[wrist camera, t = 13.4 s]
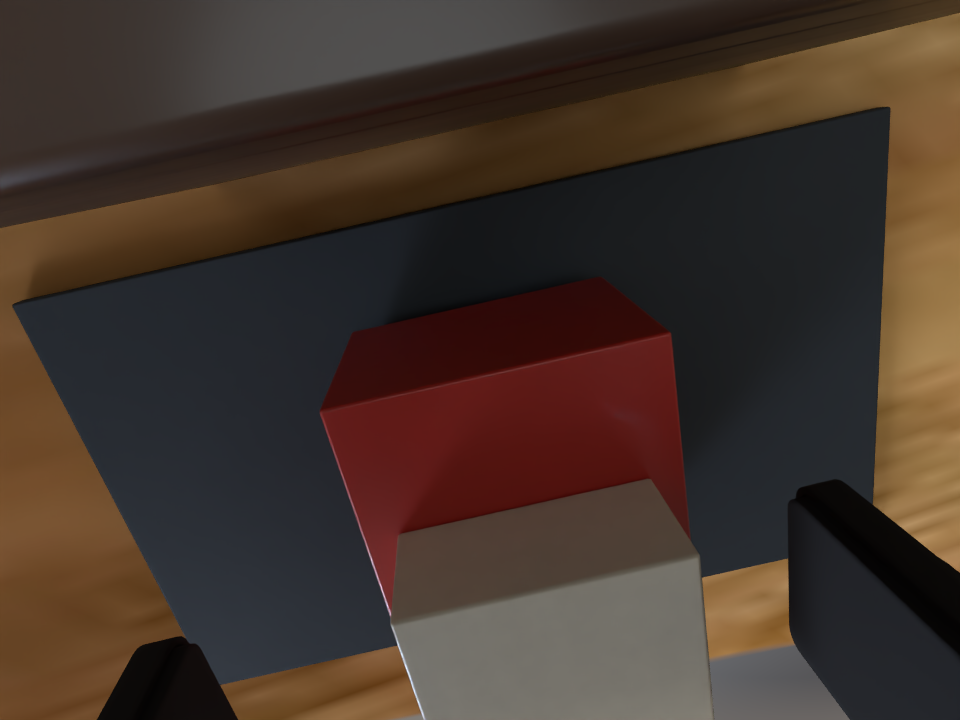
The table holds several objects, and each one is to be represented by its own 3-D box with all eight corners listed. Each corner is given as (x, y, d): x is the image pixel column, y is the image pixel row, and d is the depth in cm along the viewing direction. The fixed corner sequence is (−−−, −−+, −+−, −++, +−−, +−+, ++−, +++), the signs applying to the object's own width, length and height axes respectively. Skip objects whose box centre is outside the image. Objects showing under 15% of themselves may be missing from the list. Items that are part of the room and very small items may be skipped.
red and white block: (629, 539, 17) (757, 801, 10) (436, 582, 17) (438, 871, 10) (589, 265, 14) (735, 382, 7) (356, 318, 14) (287, 482, 7)
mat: (216, 675, 18) (210, 687, 17) (22, 300, 13) (10, 305, 13) (862, 531, 18) (872, 540, 17) (878, 107, 13) (891, 106, 13)
